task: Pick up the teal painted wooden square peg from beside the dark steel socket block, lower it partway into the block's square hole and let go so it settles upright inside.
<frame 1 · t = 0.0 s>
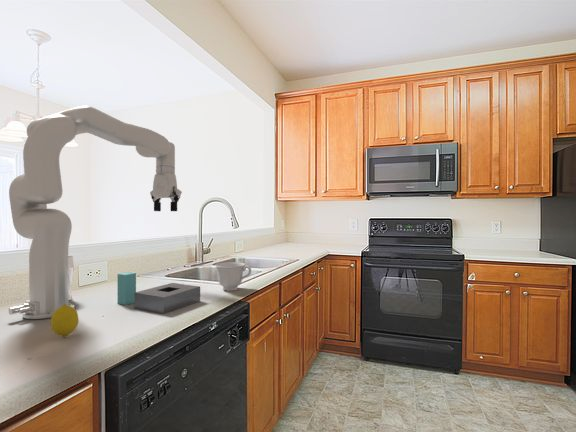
hand: (165, 211, 137), 31 cm above the table, tool pointing down, fingers open, 9 cm apart
socket block: (168, 304, 107), on the table
teacup: (233, 289, 128), on the table
lemon: (64, 338, 78), on the table
beer glass: (61, 300, 111), on the table
square peg: (126, 302, 108), on the table
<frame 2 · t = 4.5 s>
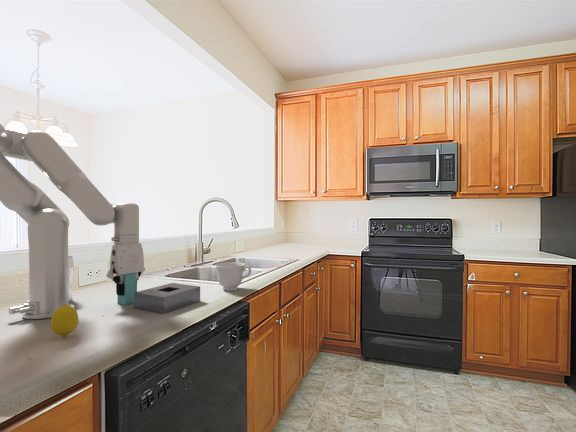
hand: (126, 293, 108), 3 cm above the table, tool pointing down, fingers closed on square peg, 4 cm apart
square peg: (126, 302, 108), on the table, touching gripper
everything else where it was.
when the fingers open (6 cm above the table, at t = 10.0 s): square peg drops 3 cm, resting in socket block.
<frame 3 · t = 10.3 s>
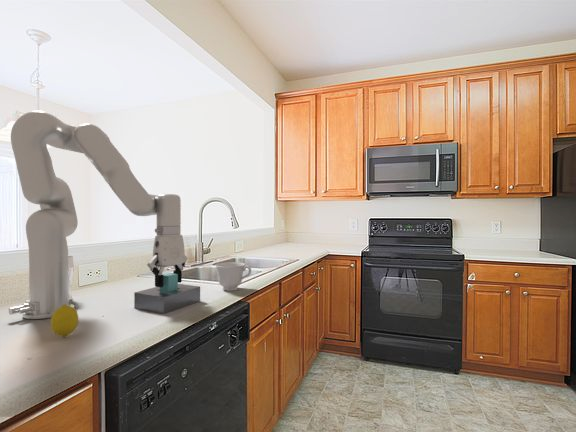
hand: (168, 284, 107), 7 cm above the table, tool pointing down, fingers open, 7 cm apart
square peg: (168, 304, 107), resting in socket block
everything else where it was.
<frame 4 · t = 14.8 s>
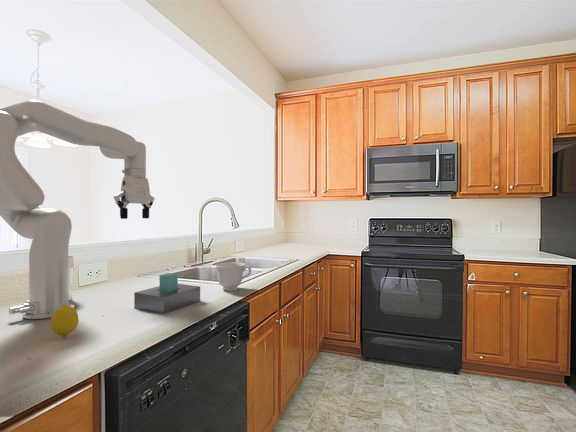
hand: (135, 218, 124), 28 cm above the table, tool pointing down, fingers open, 9 cm apart
nothing on the table moved.
at the end: square peg 0.1 cm off-centre on the socket block, point 0.0 cm above the socket block's base; square peg tilted 0°; the gripper is holding nothing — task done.
